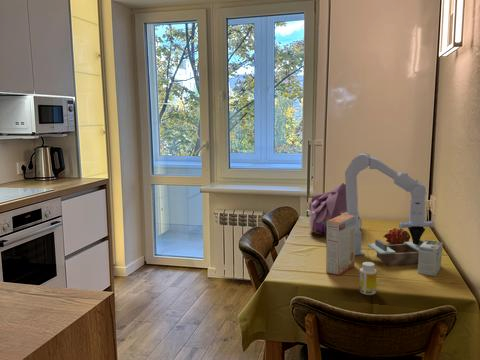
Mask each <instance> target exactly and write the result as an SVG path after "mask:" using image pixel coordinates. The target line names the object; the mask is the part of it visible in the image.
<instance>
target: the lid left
mask: <svg viewBox="0 0 480 360" xmlns="http://www.w3.org/2000/svg"><path fill="white" fill-rule="evenodd" d="M374 242H375V243H366V246H367V247H369V248H370V249H372V250H373V251H374V252H376V254H377V253H379V254H391V253H396V252H395V251H394V250H392V249H390V248H389V247H387V245H388V244H386V243H385V242H384V241H382V240H380V239H377V238H376V239H375V241H374Z"/></svg>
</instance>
